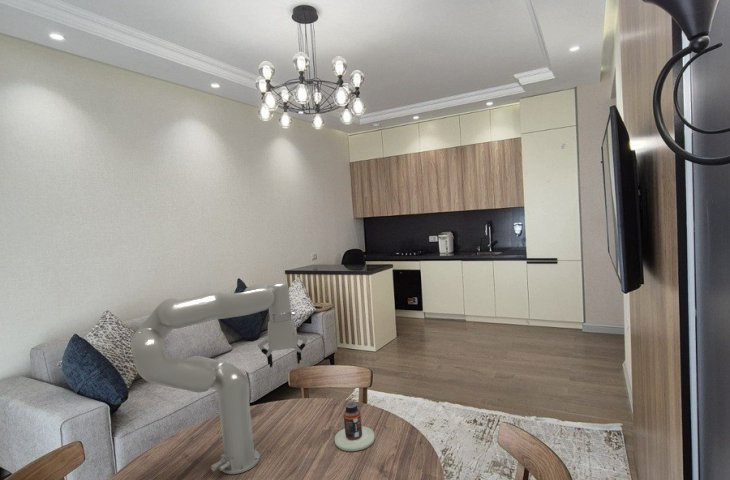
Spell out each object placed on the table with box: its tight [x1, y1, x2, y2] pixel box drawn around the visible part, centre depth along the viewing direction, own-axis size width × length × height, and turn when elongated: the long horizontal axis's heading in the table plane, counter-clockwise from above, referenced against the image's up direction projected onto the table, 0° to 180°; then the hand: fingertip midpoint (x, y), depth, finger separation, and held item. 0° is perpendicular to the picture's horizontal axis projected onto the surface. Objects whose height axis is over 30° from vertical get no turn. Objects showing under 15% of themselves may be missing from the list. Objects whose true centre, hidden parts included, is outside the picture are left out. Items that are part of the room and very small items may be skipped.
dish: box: [334, 425, 375, 452], centre depth 141 cm, size 14×14×2 cm
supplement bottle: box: [343, 402, 363, 440], centre depth 141 cm, size 6×6×11 cm
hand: (285, 364), depth 143 cm, fingers open, 9 cm apart
